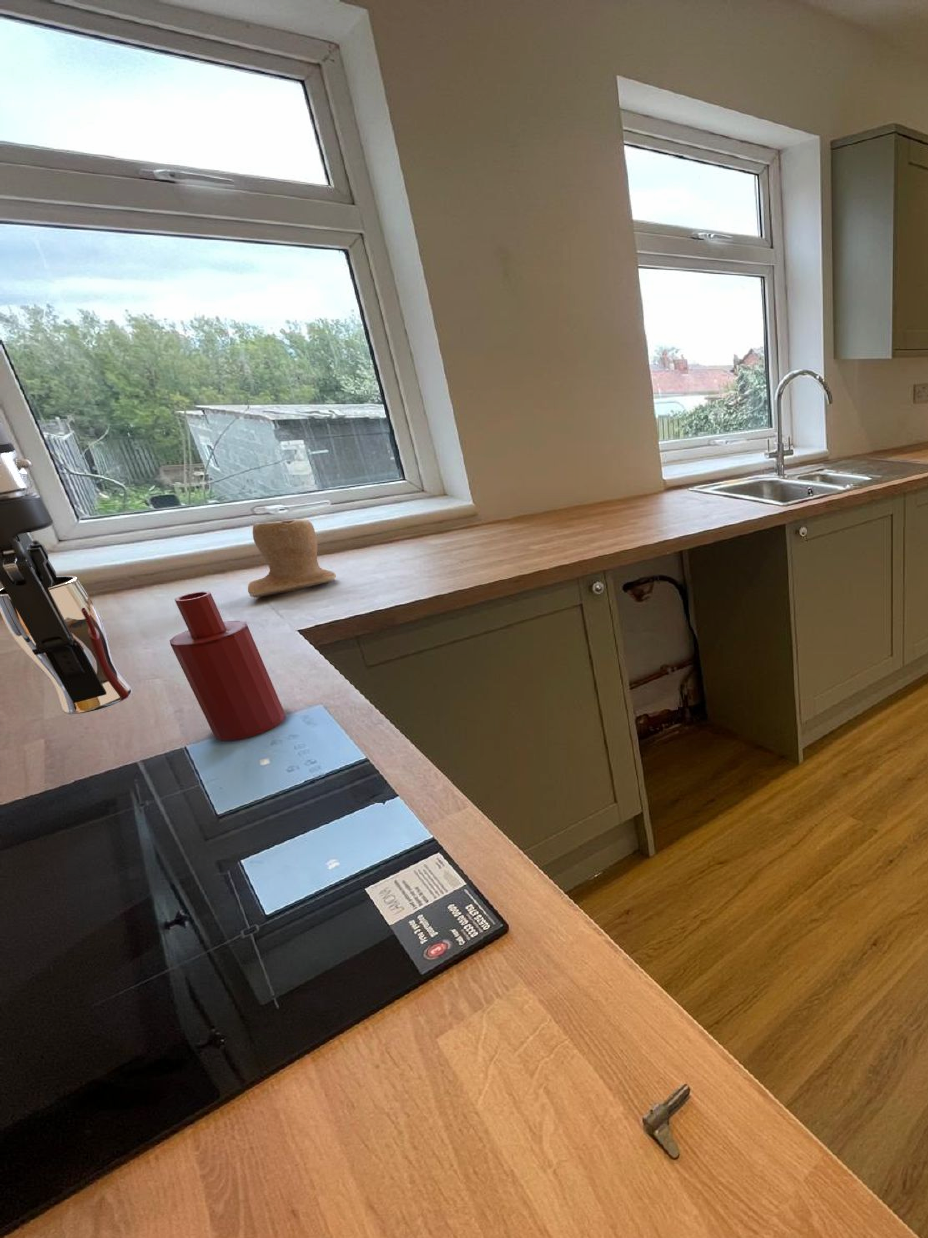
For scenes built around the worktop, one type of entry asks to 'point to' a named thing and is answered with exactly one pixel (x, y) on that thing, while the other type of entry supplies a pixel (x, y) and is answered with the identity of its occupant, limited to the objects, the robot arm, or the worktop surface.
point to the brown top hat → (287, 557)
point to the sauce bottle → (225, 671)
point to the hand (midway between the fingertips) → (91, 688)
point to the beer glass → (86, 632)
